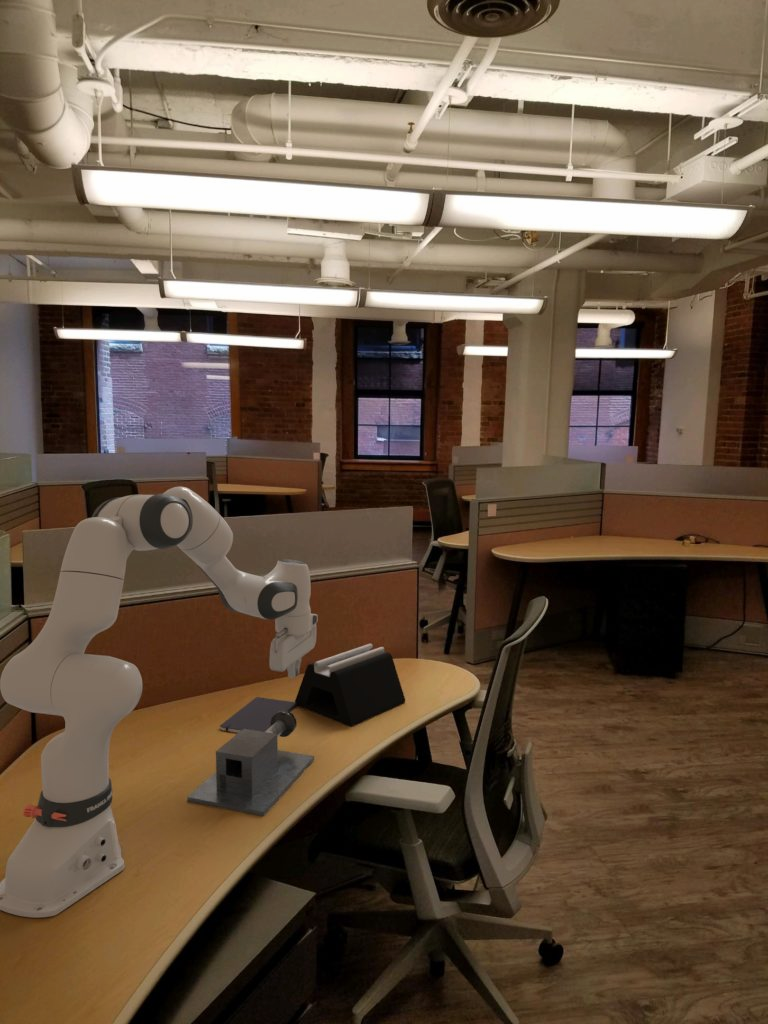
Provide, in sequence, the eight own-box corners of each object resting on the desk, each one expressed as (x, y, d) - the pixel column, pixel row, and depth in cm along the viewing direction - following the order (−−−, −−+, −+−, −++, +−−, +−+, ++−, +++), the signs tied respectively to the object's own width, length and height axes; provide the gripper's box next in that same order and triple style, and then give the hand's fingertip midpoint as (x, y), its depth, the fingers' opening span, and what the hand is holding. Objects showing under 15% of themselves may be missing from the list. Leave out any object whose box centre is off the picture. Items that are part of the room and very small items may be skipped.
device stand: (294, 705, 203) (294, 655, 201) (349, 684, 220) (349, 637, 218) (351, 728, 188) (351, 673, 186) (405, 703, 205) (405, 653, 203)
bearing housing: (263, 816, 145) (263, 769, 144) (187, 801, 150) (186, 756, 149) (314, 759, 169) (314, 719, 168) (247, 748, 175) (246, 709, 174)
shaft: (257, 772, 155) (257, 746, 154) (233, 768, 157) (233, 742, 156) (296, 735, 174) (296, 711, 173) (274, 731, 175) (274, 708, 175)
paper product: (262, 738, 182) (296, 707, 202) (262, 733, 182) (296, 702, 202) (218, 732, 186) (256, 701, 206) (218, 726, 185) (256, 696, 206)
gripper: (286, 636, 165) (287, 693, 167) (320, 613, 185) (320, 664, 187) (262, 633, 167) (263, 689, 169) (298, 611, 187) (298, 661, 188)
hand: (293, 676), depth 178 cm, fingers closed
